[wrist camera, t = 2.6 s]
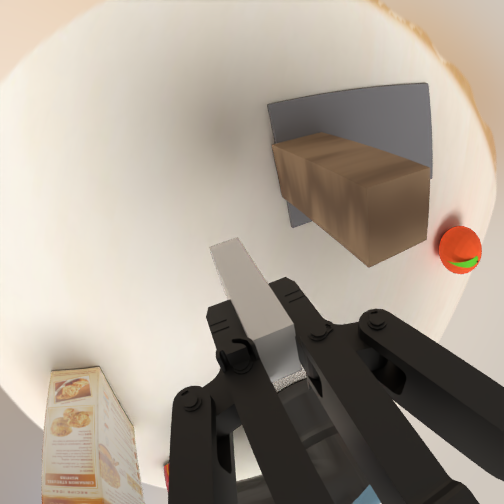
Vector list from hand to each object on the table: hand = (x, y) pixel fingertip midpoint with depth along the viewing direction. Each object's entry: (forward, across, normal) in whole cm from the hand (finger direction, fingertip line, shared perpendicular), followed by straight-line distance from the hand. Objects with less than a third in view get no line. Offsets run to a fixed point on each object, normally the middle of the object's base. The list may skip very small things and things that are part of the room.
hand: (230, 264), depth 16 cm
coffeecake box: (+12, +22, +21) cm, 33 cm away
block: (+12, -10, 0) cm, 15 cm away
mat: (+12, -18, 0) cm, 22 cm away
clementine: (+12, -32, +17) cm, 38 cm away
